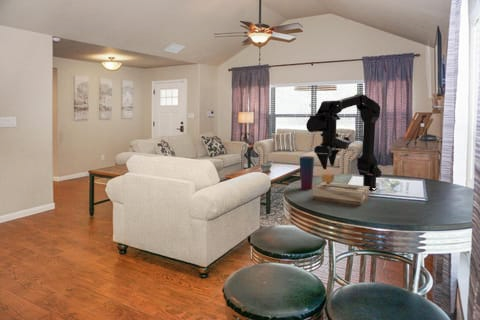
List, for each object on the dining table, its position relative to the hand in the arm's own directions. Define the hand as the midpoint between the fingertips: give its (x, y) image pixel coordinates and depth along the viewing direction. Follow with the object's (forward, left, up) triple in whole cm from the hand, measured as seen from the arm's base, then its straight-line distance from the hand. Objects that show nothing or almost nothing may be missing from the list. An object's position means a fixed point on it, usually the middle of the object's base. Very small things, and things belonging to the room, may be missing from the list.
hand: (328, 167), depth 154 cm
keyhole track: (0, +6, -13) cm, 14 cm away
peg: (0, 0, -11) cm, 11 cm away
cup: (-11, -14, -13) cm, 22 cm away
